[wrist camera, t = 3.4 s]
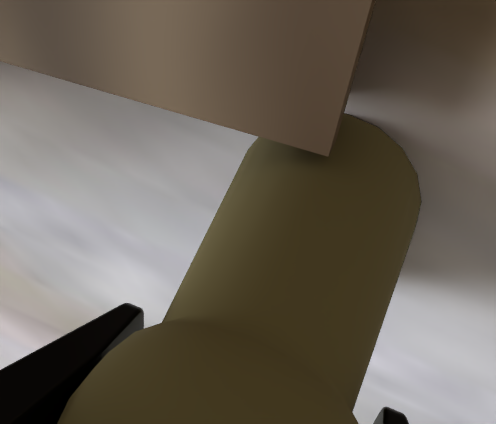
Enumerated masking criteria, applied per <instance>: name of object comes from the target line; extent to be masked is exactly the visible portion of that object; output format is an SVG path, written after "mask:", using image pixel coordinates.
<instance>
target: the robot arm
mask: <svg viewBox="0 0 496 424" xmlns="http://www.w3.org/2000/svg"><path fill="white" fill-rule="evenodd" d="M142 329H144V312H143V310H142V308H140V307H137V306H135V305H132V304H130V303H124V304H122V305H120V306H118V307H116V308H114V309H112V310H111V311H109V312H107V313H105V314H103V315H101V316H99V317H98V318H96V319H94V320H92V321H90V322H88V323H86V324H85V325H83V326H81V327H79V328H77V329H75V330H73V331H72V332H70V333H68V334H66V335H64V336H62V337H60V338H59V339H57V340H55V341H53V342H51V343H49V344H47V345H46V346H44V347H42V348H40V349H38V350H36V351H35V352H33V353H31V354H29V355H27V356H25V357H23V358H22V359H20V360H18V361H16V362H14V363H12V364H10V365H9V366H7V367H5V368H3V369H1V370H0V424H57V423H58V421H59V419H60V417H61V415H62V412H63V410H64V408H65V406H66V404H67V402H68V400H69V398H70V397H71V396H72V394H73V393H74V392H75V391H76V389H77V388H78V387H79V386H80V384H81V383H82V382H83V381H84V380H85V378H86V377H87V376H88V375H89V373H90V372H91V371H92V370H93V369H94V367H95V366H96V365H97V364H98V363H99V362H100V361H101V360H102V359H103V358H104V356H105V355H106V354H107V353H108V352H109V351H111V350H112V349H113V348H115V347H116V346H117V345H118V344H120V343H121V342H122V341H124V340H125V339H126V338H127V337H129V336H130V335H131V334H133V333H134V332H136V331H139V330H142ZM373 424H409V423H408V420H407V418H406V416H405V415H404V414H403V413H401V412H398V411H396V410H394V409H391V408H389V407H384V408H382V410H381V411H380V413H379V415H378V416H377V418H376V420H375V421H374V423H373Z"/></svg>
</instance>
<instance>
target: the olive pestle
mask: <svg viewBox="0 0 496 424" xmlns="http://www.w3.org/2000/svg"><path fill="white" fill-rule="evenodd" d="M420 206H421V196H420V190H419V183H418V177H417V173H416V172H415V170H414V168H413V166H412V165H411V163H410V161H409V159H408V158H407V156H406V154H405V152H404V151H403V149H402V148H401V147H400V146H399V145H398V144H397V143H395V142H394V141H393V140H392V139H391V138H390V137H389V136H387V135H386V134H385V133H384V132H383V131H382V130H381V129H379V128H378V127H376V126H374V125H371V124H369V123H367V122H365V121H362V120H360V119H358V118H355V117H353V116H351V115H348V114H343V118H342V121H341V125H340V128H339V132H338V135H337V139H336V142H335V144H334V146H333V148H332V150H331V152H330V154H329V156H328V157H327V156H324V155H321V154H317V153H314V152H310V151H307V150H303V149H300V148H297V147H293V146H290V145H286V144H283V143H279V142H276V141H272V140H269V139H266V138H262V137H258V138H257V140H256V141H255V142H254V143H253V144H252V146H251V147H250V148H249V149H248V151H247V153H246V155H245V157H244V159H243V161H242V163H241V165H240V167H239V169H238V171H237V173H236V175H235V177H234V179H233V181H232V183H231V185H230V187H229V189H228V191H227V193H226V195H225V197H224V199H223V201H222V203H221V205H220V207H219V209H218V211H217V213H216V215H215V217H214V219H213V221H212V223H211V225H210V227H209V229H208V231H207V233H206V235H205V237H204V239H203V241H202V243H201V245H200V247H199V249H198V251H197V253H196V255H195V257H194V259H193V261H192V263H191V265H190V267H189V269H188V271H187V273H186V275H185V277H184V279H183V281H182V283H181V285H180V287H179V289H178V291H177V293H176V295H175V297H174V299H173V301H172V303H171V305H170V307H169V309H168V311H167V313H166V315H165V317H164V319H163V321H162V323H160V324H157V325H154V326H151V327H148V328H145V329H142V330H139V331H136V332H134V333H133V334H131V335H130V336H129V337H127V338H126V339H125V340H124V341H122V342H121V343H120V344H118V345H117V346H116V347H115V348H113V349H112V350H111V351H109V352H108V353H107V354H106V355H105V356H104V358H103V359H102V360H101V361H100V362H99V363H98V364H97V365H96V366H95V367H94V369H93V370H92V371H91V372H90V373H89V375H88V376H87V377H86V378H85V380H84V381H83V382H82V383H81V384H80V386H79V387H78V388H77V389H76V391H75V392H74V393H73V394H72V396H71V397H70V398H69V400H68V402H67V404H66V406H65V408H64V410H63V412H62V415H61V417H60V419H59V421H58V423H57V424H358V422H357V420H356V418H355V416H354V415H353V413H352V411H353V408H354V406H355V403H356V400H357V397H358V394H359V391H360V388H361V385H362V382H363V379H364V376H365V373H366V370H367V367H368V365H369V362H370V359H371V356H372V353H373V350H374V347H375V344H376V341H377V338H378V335H379V332H380V329H381V326H382V324H383V321H384V318H385V315H386V312H387V309H388V306H389V303H390V300H391V297H392V294H393V291H394V288H395V285H396V282H397V280H398V277H399V274H400V271H401V268H402V265H403V262H404V259H405V256H406V253H407V250H408V247H409V244H410V241H411V239H412V236H413V233H414V230H415V227H416V222H417V218H418V214H419V210H420Z"/></svg>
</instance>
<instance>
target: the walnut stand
mask: <svg viewBox="0 0 496 424" xmlns="http://www.w3.org/2000/svg"><path fill="white" fill-rule="evenodd" d="M375 1H376V0H0V61H1V62H5V63H8V64H11V65H15V66H18V67H22V68H25V69H29V70H32V71H35V72H39V73H42V74H46V75H49V76H53V77H56V78H59V79H63V80H66V81H70V82H73V83H77V84H80V85H84V86H87V87H90V88H94V89H97V90H101V91H104V92H108V93H111V94H114V95H118V96H121V97H125V98H128V99H132V100H135V101H139V102H142V103H145V104H149V105H152V106H156V107H159V108H163V109H166V110H169V111H173V112H176V113H180V114H183V115H187V116H190V117H193V118H197V119H200V120H204V121H207V122H211V123H214V124H218V125H221V126H224V127H228V128H231V129H235V130H238V131H242V132H245V133H248V134H252V135H255V136H259V137H262V138H266V139H269V140H272V141H276V142H279V143H283V144H286V145H290V146H293V147H297V148H300V149H303V150H307V151H310V152H314V153H317V154H321V155H324V156H327V157H328V156H329V154H330V152H331V150H332V148H333V146H334V144H335V142H336V139H337V135H338V132H339V128H340V125H341V121H342V118H343V114H344V111H345V107H346V104H347V100H348V97H349V93H350V90H351V86H352V83H353V79H354V75H355V72H356V68H357V65H358V61H359V58H360V54H361V51H362V47H363V44H364V40H365V37H366V33H367V30H368V26H369V23H370V19H371V16H372V12H373V9H374V5H375Z"/></svg>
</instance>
